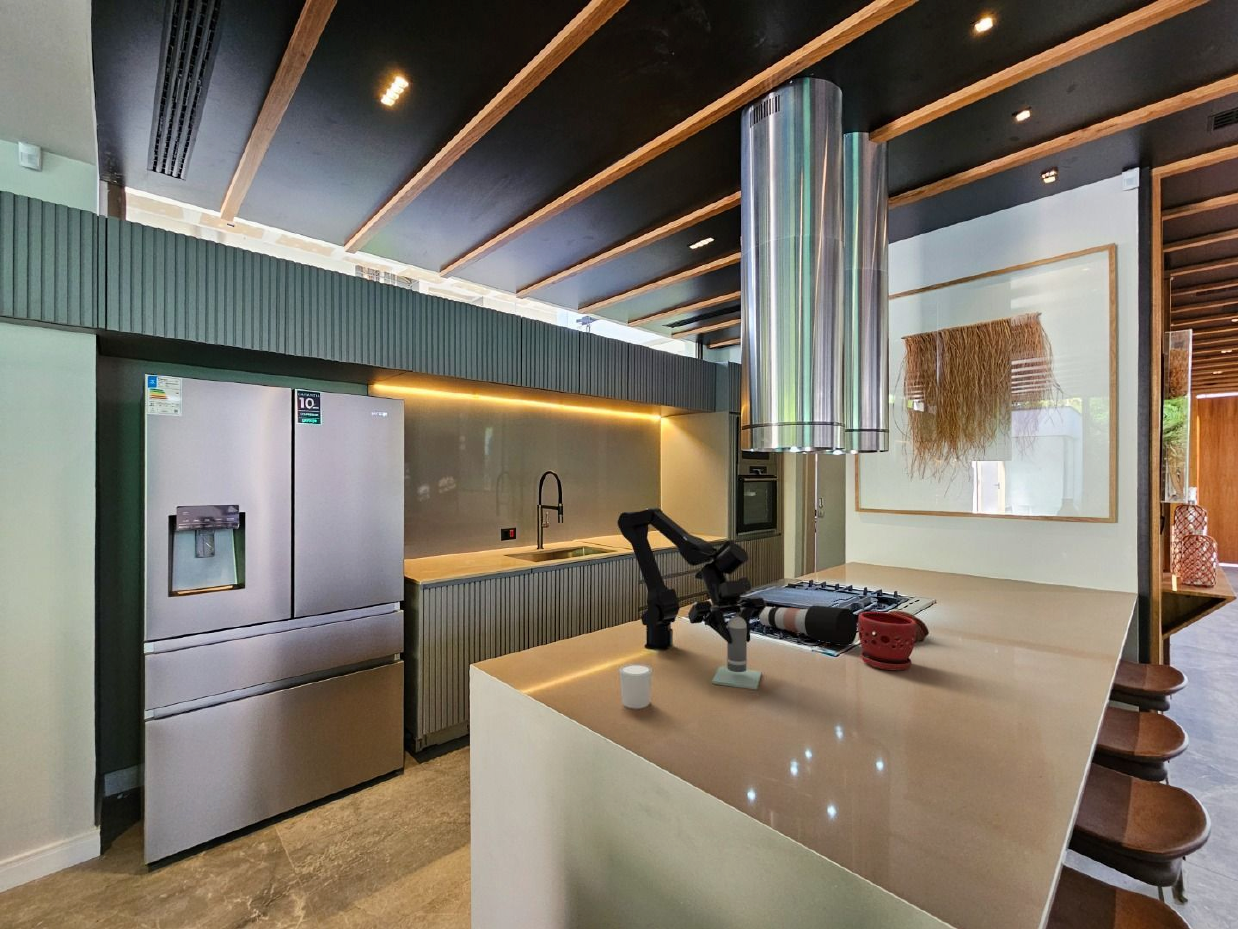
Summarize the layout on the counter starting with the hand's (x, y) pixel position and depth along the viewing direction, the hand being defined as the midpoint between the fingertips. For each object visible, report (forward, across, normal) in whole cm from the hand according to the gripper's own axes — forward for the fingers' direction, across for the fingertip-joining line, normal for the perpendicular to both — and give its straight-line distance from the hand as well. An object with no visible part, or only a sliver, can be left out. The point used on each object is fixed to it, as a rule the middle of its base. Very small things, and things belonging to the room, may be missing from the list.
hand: (739, 642), depth 126 cm
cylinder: (+4, 0, +6) cm, 7 cm away
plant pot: (+8, +41, +5) cm, 42 cm away
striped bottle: (-13, +36, +26) cm, 46 cm away
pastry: (-4, +63, +18) cm, 65 cm away
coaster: (+5, 0, +7) cm, 9 cm away
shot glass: (+9, -27, +4) cm, 29 cm away
